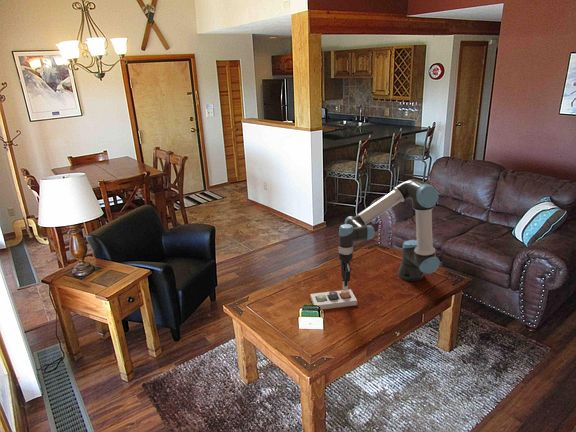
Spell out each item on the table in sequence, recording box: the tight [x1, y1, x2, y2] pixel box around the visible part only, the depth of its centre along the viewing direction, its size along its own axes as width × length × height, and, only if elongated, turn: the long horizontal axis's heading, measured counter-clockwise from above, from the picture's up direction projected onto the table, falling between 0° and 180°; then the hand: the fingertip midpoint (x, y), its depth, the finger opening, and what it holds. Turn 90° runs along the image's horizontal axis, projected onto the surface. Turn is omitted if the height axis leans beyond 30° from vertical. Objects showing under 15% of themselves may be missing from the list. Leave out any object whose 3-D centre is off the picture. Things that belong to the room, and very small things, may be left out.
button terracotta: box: [341, 289, 350, 299], centre depth 227 cm, size 5×5×3 cm
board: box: [310, 288, 358, 310], centre depth 227 cm, size 24×12×3 cm, turn 99°
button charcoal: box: [328, 290, 338, 301], centre depth 227 cm, size 5×5×3 cm
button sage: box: [317, 295, 326, 302], centre depth 226 cm, size 5×5×3 cm
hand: (345, 289), depth 226 cm, fingers closed
